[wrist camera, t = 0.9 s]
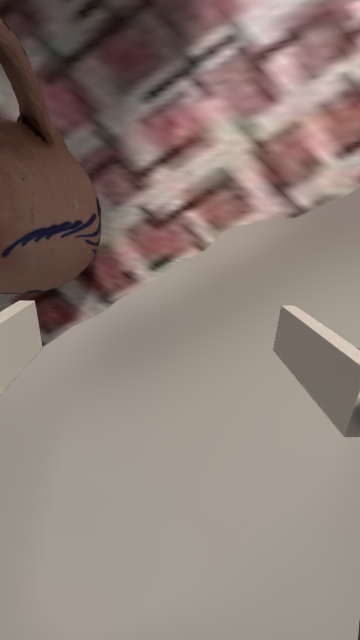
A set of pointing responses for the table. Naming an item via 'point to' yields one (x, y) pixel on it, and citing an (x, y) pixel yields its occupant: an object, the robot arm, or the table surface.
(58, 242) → the ceramic pitcher
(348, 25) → the table surface
